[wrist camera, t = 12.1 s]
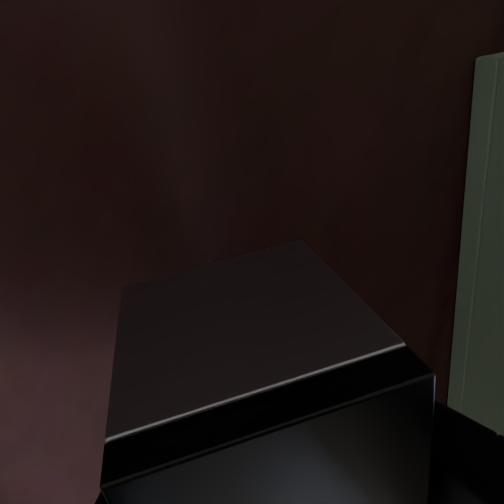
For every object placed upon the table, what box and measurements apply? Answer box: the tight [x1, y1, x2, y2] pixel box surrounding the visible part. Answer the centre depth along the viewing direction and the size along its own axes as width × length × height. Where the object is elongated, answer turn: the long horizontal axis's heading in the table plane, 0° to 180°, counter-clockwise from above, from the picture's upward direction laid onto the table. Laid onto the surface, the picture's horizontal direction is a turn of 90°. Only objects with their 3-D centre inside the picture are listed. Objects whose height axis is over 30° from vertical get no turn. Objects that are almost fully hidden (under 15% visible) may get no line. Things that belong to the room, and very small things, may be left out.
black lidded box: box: [100, 240, 436, 504], centre depth 8 cm, size 4×6×4 cm, turn 10°
